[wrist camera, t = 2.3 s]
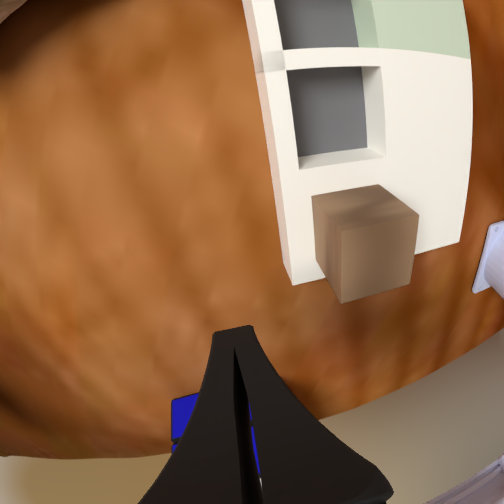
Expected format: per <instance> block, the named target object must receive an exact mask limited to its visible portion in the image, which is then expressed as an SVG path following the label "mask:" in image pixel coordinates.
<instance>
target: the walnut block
mask: <svg viewBox="0 0 504 504" xmlns="http://www.w3.org/2000/svg"><path fill="white" fill-rule="evenodd" d="M311 200H312V212H313V226H314V241H315V259H316V261H317V263H318V265H319V266H320V268H321V270H322V272H323V273H324V275H325V277H326V279H327V281H328V282H329V284H330V286H331V288H332V289H333V291H334V293H335V295H336V297H337V298H338V300H339V302H340V304H342V303H346V302H350V301H353V300H357V299H360V298H364V297H368V296H371V295H374V294H378V293H381V292H385V291H388V290H391V289H395V288H398V287H401V286H404V285H408V284H410V279H411V273H412V267H413V261H414V254H415V247H416V240H417V232H418V223H419V214H418V213H416V212H415V211H414V210H412V209H411V208H410V207H409V206H407V205H406V204H405V203H403V202H402V201H401V200H399V199H398V198H397V197H395V196H394V195H393V194H391V193H390V192H389V191H387V190H386V189H385V188H383V187H382V186H380V185H379V184H376V185H370V186H364V187H358V188H352V189H346V190H341V191H335V192H329V193H324V194H318V195H313V196H311Z"/></svg>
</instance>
